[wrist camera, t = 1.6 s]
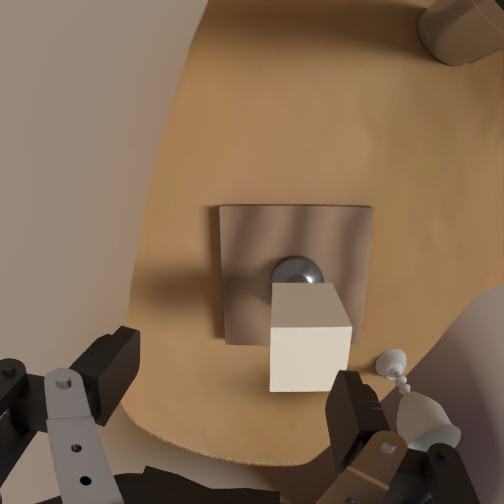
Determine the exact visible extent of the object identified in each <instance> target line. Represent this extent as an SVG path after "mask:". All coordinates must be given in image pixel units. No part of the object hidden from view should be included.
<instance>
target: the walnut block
mask: <svg viewBox="0 0 504 504" xmlns="http://www.w3.org/2000/svg"><path fill="white" fill-rule="evenodd" d="M219 212H220V242H221V267H222V290H223V310H224V329H225V344H226V345H260V346H270V345H271V308H272V297H271V294H270V276H271V273H272V270H273V268H274V267H275V266H276V264H277V263H278V262H280V261H281V260H283V259H284V258H286V257H289V256H296V255H298V256H305V257H307V258H309V259H311V260H313V261H314V262H315V263H316V264H317V265H318V266H319V268H320V270H321V272H322V275H323V277H324V280H325V283H332V284H333V286H334V288H335V290H336V292H337V294H338V296H339V298H340V301H341V303H342V305H343V307H344V309H345V311H346V313H347V316H348V318H349V320H350V322H351V324H352V334H351V342H350V344H360V343H361V336H362V329H363V322H364V314H365V306H366V297H367V288H368V278H369V267H370V254H371V240H372V222H373V207H370V206H358V205H310V204H237V205H221V206H219Z"/></svg>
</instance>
